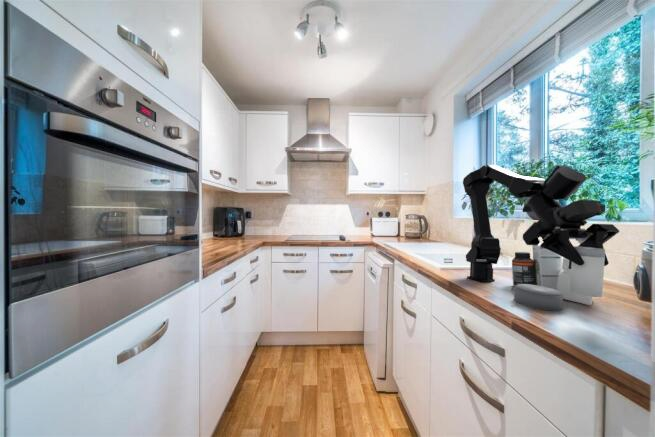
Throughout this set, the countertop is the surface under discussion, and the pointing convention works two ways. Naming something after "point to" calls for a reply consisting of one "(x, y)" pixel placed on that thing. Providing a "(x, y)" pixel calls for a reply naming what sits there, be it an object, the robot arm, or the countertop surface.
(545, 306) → the charcoal stand
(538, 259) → the syrup box
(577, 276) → the white and grey cylinder
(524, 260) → the supplement bottle
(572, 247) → the robot arm
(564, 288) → the medicine bottle
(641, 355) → the countertop surface
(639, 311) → the countertop surface
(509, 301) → the countertop surface
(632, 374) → the countertop surface
